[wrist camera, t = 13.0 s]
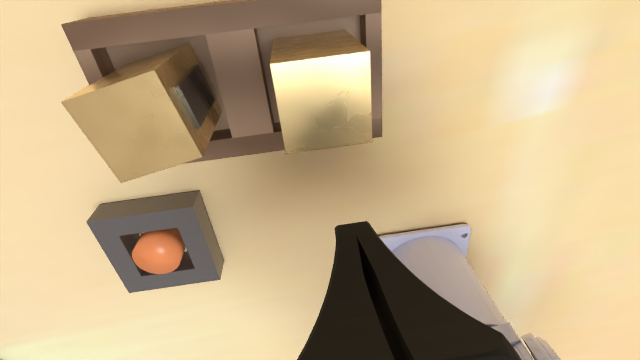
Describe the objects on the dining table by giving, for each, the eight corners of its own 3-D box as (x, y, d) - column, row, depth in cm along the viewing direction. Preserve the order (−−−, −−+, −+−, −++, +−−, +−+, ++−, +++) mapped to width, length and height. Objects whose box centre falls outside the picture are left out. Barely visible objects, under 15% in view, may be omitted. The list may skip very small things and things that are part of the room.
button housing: (224, 260, 28) (220, 279, 26) (138, 273, 28) (129, 292, 26) (199, 190, 24) (193, 207, 22) (100, 204, 24) (86, 221, 22)
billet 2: (284, 108, 21) (285, 153, 15) (273, 38, 18) (270, 64, 13) (353, 99, 21) (376, 141, 16) (349, 29, 19) (375, 50, 13)
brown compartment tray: (372, 121, 23) (382, 136, 20) (144, 151, 22) (129, 170, 20) (369, -17, 18) (381, -16, 16) (87, 18, 18) (61, 24, 16)
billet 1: (161, 130, 21) (121, 183, 15) (121, 66, 18) (60, 102, 13) (225, 109, 20) (206, 155, 15) (193, 41, 18) (158, 68, 13)
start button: (192, 251, 26) (186, 270, 25) (151, 257, 26) (142, 276, 25) (179, 219, 25) (171, 237, 23) (135, 225, 25) (124, 244, 23)
